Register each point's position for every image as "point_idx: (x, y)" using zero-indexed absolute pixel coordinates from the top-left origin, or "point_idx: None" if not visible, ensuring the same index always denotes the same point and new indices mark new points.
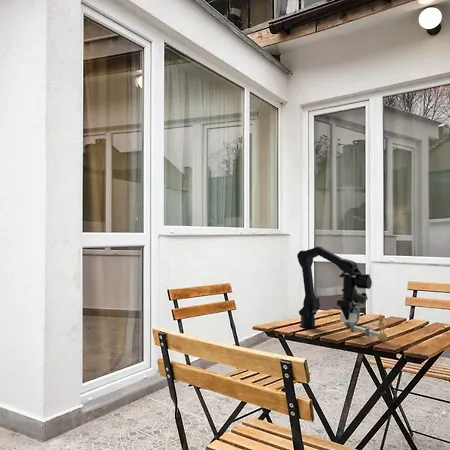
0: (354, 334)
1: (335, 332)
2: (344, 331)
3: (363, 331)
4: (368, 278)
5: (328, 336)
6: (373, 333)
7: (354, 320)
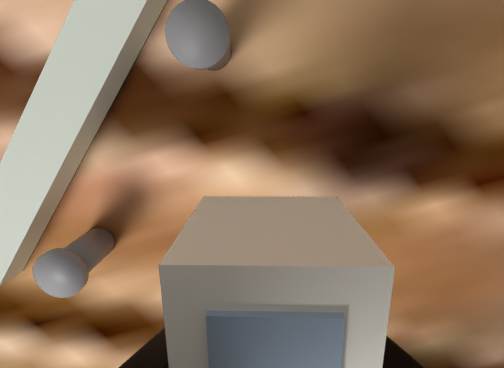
0: (248, 175)
1: None
2: None
3: (90, 131)
4: None
5: (481, 321)
6: None
7: (346, 210)
